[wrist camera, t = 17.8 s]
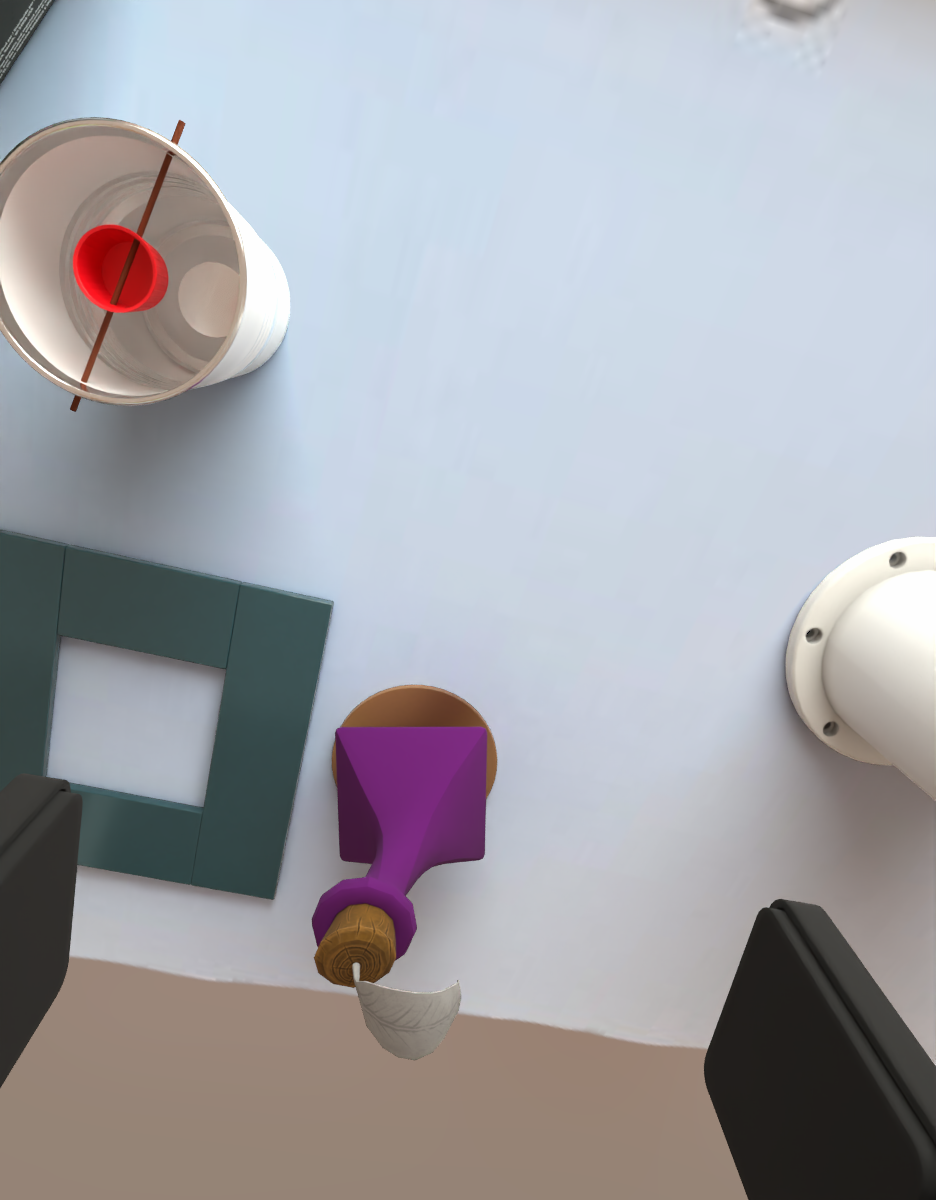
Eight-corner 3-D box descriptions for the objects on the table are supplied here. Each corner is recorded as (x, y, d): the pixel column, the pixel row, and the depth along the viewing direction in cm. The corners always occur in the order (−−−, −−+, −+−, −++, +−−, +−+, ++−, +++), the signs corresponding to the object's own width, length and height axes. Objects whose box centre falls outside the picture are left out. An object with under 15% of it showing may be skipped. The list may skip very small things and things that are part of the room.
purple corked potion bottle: (347, 825, 44) (286, 1121, 27) (342, 701, 42) (273, 934, 24) (481, 824, 44) (507, 1117, 27) (483, 700, 42) (513, 932, 25)
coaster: (514, 703, 43) (514, 706, 42) (475, 845, 45) (475, 849, 45) (349, 669, 42) (348, 671, 41) (318, 816, 44) (317, 819, 44)
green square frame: (334, 600, 41) (332, 604, 40) (275, 893, 45) (273, 900, 45) (-27, 523, 39) (-34, 525, 38) (-48, 835, 44) (-55, 842, 43)
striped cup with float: (257, 440, 38) (178, 470, 27) (89, 356, 37) (-71, 349, 25) (344, 243, 36) (300, 183, 24) (168, 145, 35) (33, 32, 23)
